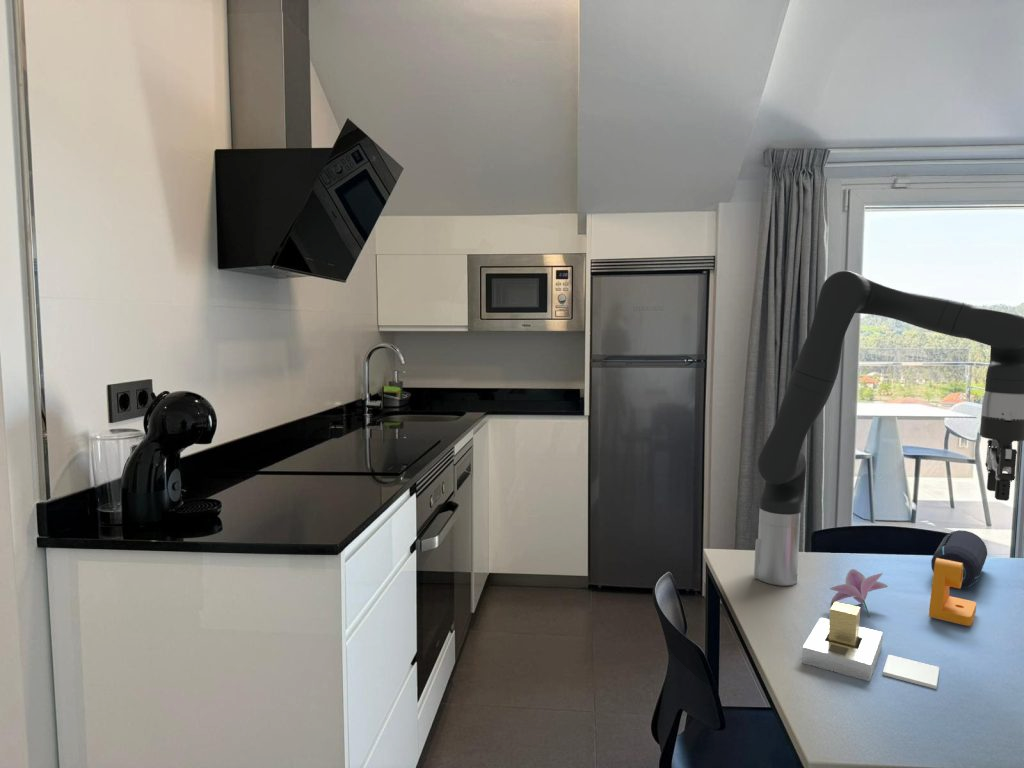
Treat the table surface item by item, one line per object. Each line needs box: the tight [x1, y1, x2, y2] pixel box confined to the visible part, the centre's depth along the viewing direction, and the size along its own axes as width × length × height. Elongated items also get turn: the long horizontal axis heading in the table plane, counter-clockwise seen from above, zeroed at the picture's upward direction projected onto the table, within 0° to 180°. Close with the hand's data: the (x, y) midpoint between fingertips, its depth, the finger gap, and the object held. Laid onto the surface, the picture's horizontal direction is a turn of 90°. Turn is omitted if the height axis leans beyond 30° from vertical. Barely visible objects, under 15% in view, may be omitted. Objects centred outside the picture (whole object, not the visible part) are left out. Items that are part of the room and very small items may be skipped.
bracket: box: [928, 558, 977, 627], centre depth 144 cm, size 11×7×12 cm, turn 140°
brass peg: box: [829, 601, 861, 649], centre depth 126 cm, size 4×4×9 cm
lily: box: [829, 568, 889, 618], centre depth 147 cm, size 12×12×10 cm
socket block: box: [801, 617, 884, 683], centre depth 126 cm, size 11×16×3 cm
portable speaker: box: [930, 529, 988, 589], centre depth 168 cm, size 25×10×10 cm, turn 141°
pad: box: [882, 653, 940, 690], centre depth 120 cm, size 8×8×1 cm
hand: (997, 495), depth 136 cm, fingers open, 8 cm apart
